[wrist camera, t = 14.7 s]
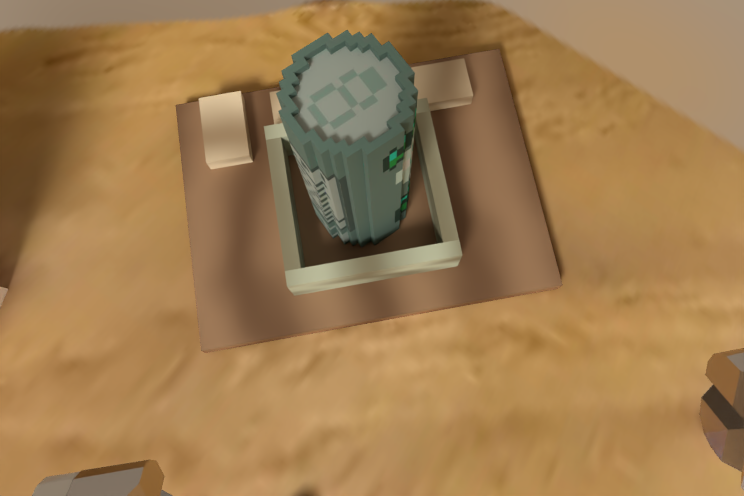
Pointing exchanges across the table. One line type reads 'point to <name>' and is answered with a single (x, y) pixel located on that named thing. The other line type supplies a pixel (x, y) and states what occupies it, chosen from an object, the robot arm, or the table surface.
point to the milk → (2, 294)
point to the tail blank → (225, 130)
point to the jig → (371, 262)
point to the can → (352, 132)
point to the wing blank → (428, 86)
